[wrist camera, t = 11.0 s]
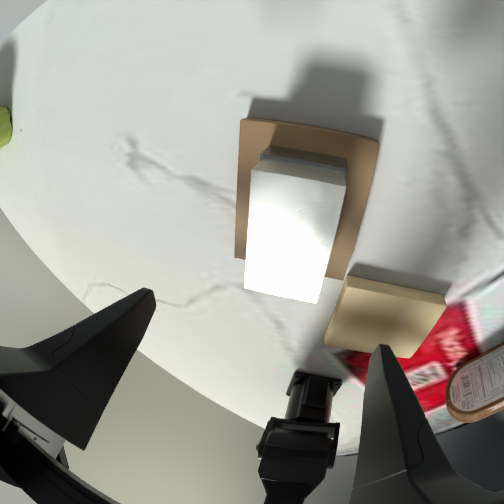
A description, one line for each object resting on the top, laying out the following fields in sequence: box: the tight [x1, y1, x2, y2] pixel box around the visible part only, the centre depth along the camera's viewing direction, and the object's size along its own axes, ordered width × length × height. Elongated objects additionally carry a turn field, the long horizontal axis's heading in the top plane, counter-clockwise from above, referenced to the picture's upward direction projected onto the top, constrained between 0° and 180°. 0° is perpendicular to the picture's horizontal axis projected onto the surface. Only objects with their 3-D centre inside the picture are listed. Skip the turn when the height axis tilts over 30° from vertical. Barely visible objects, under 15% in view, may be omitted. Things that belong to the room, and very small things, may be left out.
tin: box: [445, 343, 504, 423], centre depth 19 cm, size 15×3×8 cm, turn 132°
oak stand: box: [324, 275, 447, 358], centre depth 23 cm, size 8×10×2 cm
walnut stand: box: [234, 118, 380, 280], centre depth 19 cm, size 11×9×2 cm
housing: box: [244, 145, 348, 303], centre depth 17 cm, size 5×8×5 cm, turn 177°
